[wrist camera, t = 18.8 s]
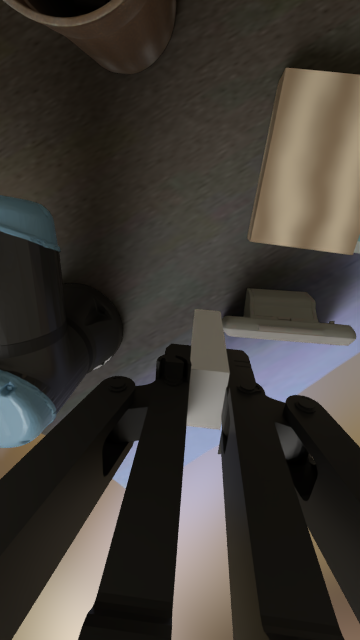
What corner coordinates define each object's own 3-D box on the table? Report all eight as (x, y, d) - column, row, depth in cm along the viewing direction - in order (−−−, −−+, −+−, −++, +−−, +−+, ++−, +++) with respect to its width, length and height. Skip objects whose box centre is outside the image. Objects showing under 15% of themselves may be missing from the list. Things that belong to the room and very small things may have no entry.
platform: (247, 238, 41) (250, 241, 37) (278, 82, 34) (286, 67, 30) (339, 250, 40) (352, 255, 36) (391, 93, 33) (413, 79, 29)
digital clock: (214, 324, 46) (214, 357, 37) (231, 271, 43) (236, 291, 33) (311, 350, 46) (337, 390, 36) (336, 299, 43) (372, 328, 33)
